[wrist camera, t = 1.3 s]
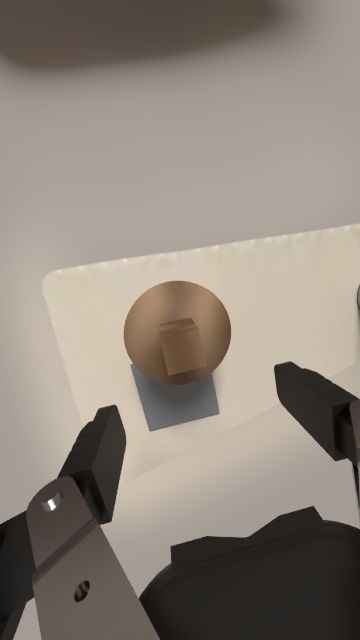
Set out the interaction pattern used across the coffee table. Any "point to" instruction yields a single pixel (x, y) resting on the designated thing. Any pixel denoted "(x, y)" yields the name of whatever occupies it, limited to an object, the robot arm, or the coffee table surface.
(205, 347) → the lid
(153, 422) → the mat
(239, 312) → the coffee table surface
